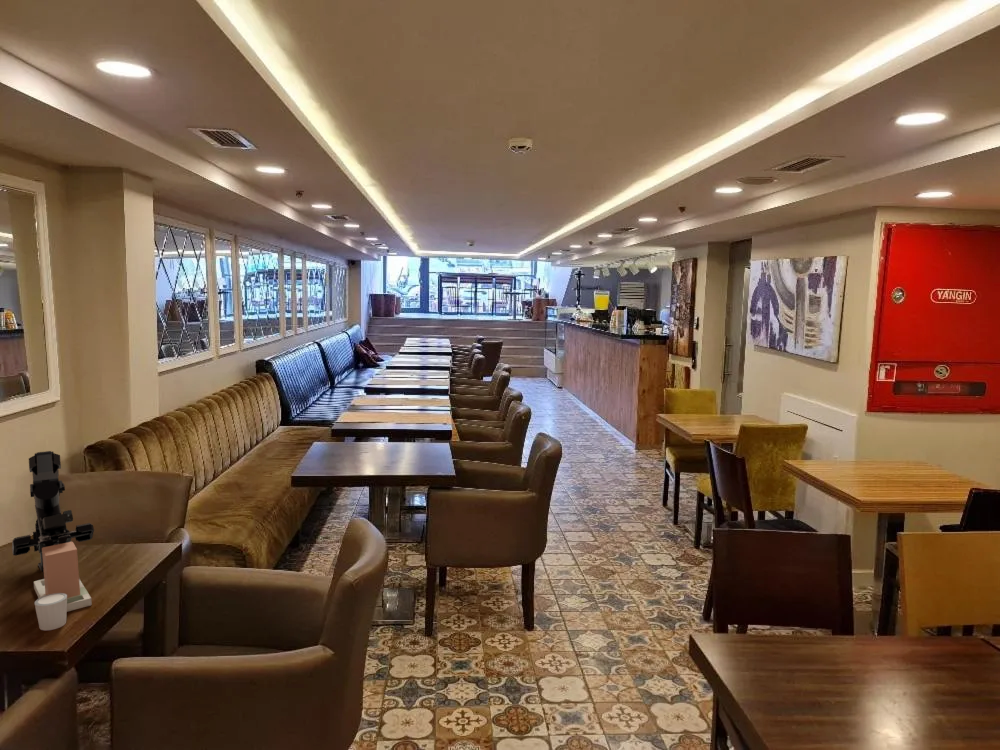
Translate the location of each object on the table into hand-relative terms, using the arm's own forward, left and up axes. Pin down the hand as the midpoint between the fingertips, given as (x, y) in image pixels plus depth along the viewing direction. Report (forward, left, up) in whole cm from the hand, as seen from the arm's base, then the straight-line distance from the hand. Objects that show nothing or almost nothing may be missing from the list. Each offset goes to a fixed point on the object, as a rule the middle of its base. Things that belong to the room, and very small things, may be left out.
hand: (59, 565), depth 178 cm
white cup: (+17, -4, -9) cm, 20 cm away
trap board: (0, 0, -9) cm, 9 cm away
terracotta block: (+4, 0, -7) cm, 8 cm away
